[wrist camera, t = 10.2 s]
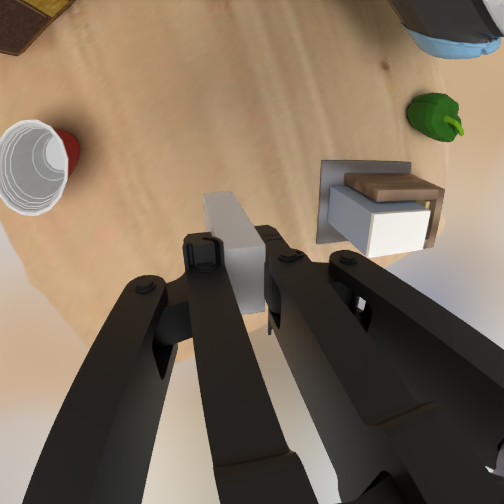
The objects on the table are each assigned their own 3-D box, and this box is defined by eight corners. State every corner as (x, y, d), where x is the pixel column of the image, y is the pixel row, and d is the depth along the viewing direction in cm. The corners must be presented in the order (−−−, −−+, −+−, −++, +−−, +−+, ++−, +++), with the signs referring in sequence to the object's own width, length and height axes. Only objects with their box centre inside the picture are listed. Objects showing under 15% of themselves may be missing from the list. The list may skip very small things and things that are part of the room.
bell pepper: (395, 96, 44) (436, 100, 35) (427, 87, 44) (468, 91, 35) (406, 142, 48) (445, 154, 39) (436, 130, 48) (475, 140, 39)
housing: (321, 160, 46) (354, 176, 37) (410, 162, 50) (448, 177, 41) (315, 243, 53) (343, 273, 44) (399, 233, 56) (432, 257, 47)
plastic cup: (37, 108, 33) (-4, 113, 22) (104, 121, 37) (78, 128, 26) (24, 180, 37) (-15, 207, 26) (86, 195, 40) (60, 226, 30)
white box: (330, 186, 48) (374, 214, 37) (381, 184, 50) (430, 210, 39) (327, 222, 50) (367, 258, 39) (377, 217, 52) (422, 249, 41)
